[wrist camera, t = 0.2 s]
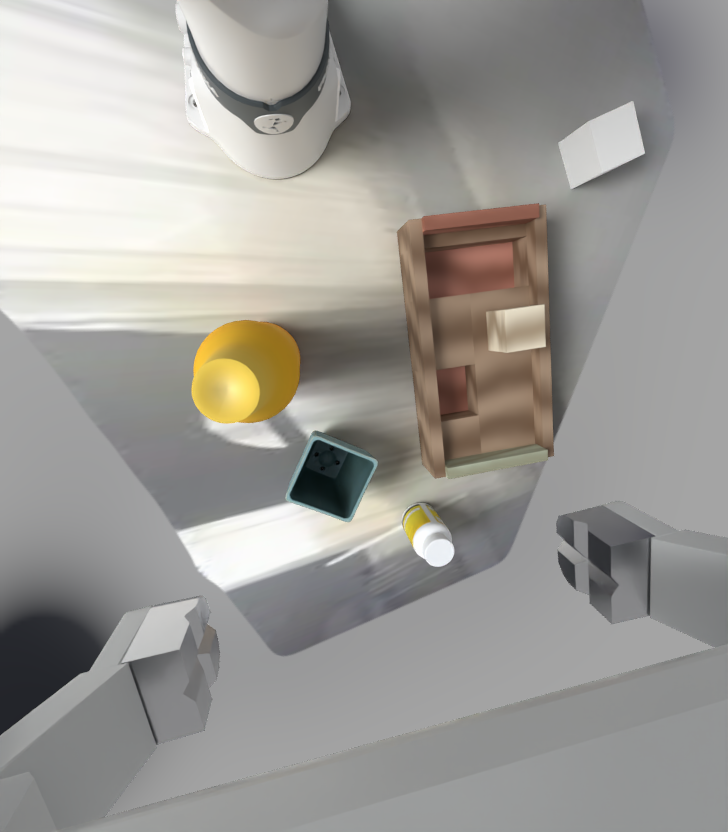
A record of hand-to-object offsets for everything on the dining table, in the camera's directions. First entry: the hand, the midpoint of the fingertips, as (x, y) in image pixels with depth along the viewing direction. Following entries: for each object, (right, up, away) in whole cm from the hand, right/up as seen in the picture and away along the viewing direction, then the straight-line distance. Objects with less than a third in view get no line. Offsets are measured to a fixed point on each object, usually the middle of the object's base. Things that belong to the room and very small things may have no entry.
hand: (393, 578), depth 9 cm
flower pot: (-6, -2, +49) cm, 49 cm away
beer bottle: (-14, +11, +45) cm, 48 cm away
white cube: (+29, +38, +46) cm, 66 cm away
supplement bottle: (+8, -12, +53) cm, 55 cm away
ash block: (+18, +15, +44) cm, 50 cm away
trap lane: (+14, +13, +48) cm, 52 cm away
